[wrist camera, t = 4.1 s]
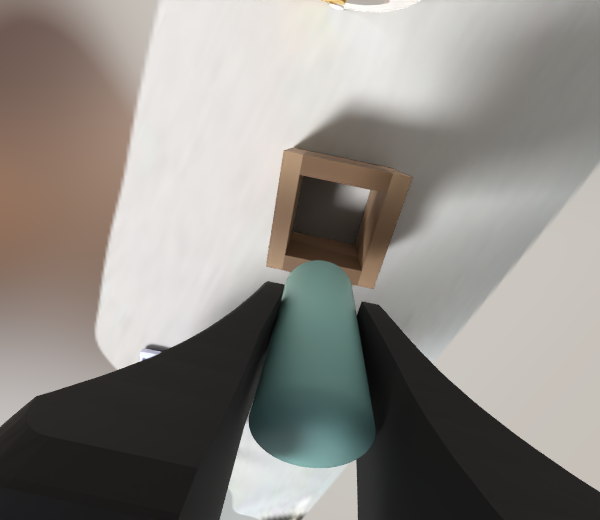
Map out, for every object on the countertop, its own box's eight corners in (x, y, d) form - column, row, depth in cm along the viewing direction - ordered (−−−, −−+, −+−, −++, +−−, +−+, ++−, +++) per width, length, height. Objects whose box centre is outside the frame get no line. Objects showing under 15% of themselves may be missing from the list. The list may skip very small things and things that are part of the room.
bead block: (363, 259, 19) (373, 288, 15) (277, 241, 19) (265, 266, 15) (392, 168, 16) (412, 177, 12) (293, 147, 16) (283, 150, 12)
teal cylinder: (342, 323, 12) (354, 477, 7) (280, 310, 12) (242, 453, 7) (360, 269, 11) (393, 401, 5) (291, 253, 11) (257, 371, 5)
